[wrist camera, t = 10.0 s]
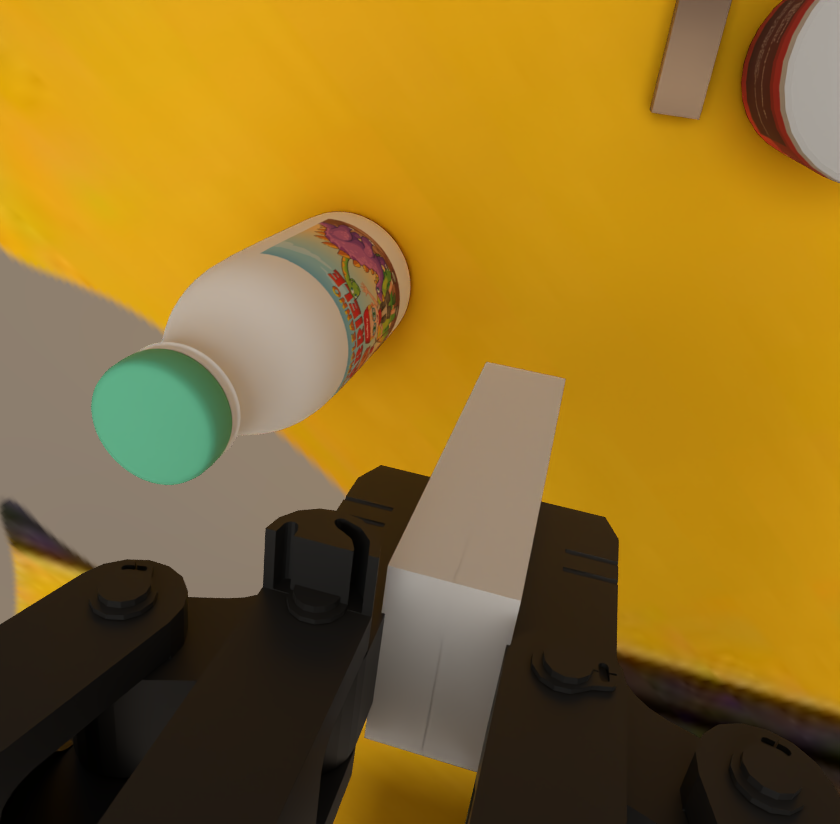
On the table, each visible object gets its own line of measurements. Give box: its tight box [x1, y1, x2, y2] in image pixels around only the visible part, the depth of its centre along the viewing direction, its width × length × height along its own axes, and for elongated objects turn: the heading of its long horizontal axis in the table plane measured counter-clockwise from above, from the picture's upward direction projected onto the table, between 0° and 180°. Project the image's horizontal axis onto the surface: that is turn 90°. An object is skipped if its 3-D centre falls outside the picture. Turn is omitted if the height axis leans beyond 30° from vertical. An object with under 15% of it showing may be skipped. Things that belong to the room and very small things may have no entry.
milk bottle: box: [91, 212, 410, 485], centre depth 34 cm, size 8×8×20 cm
